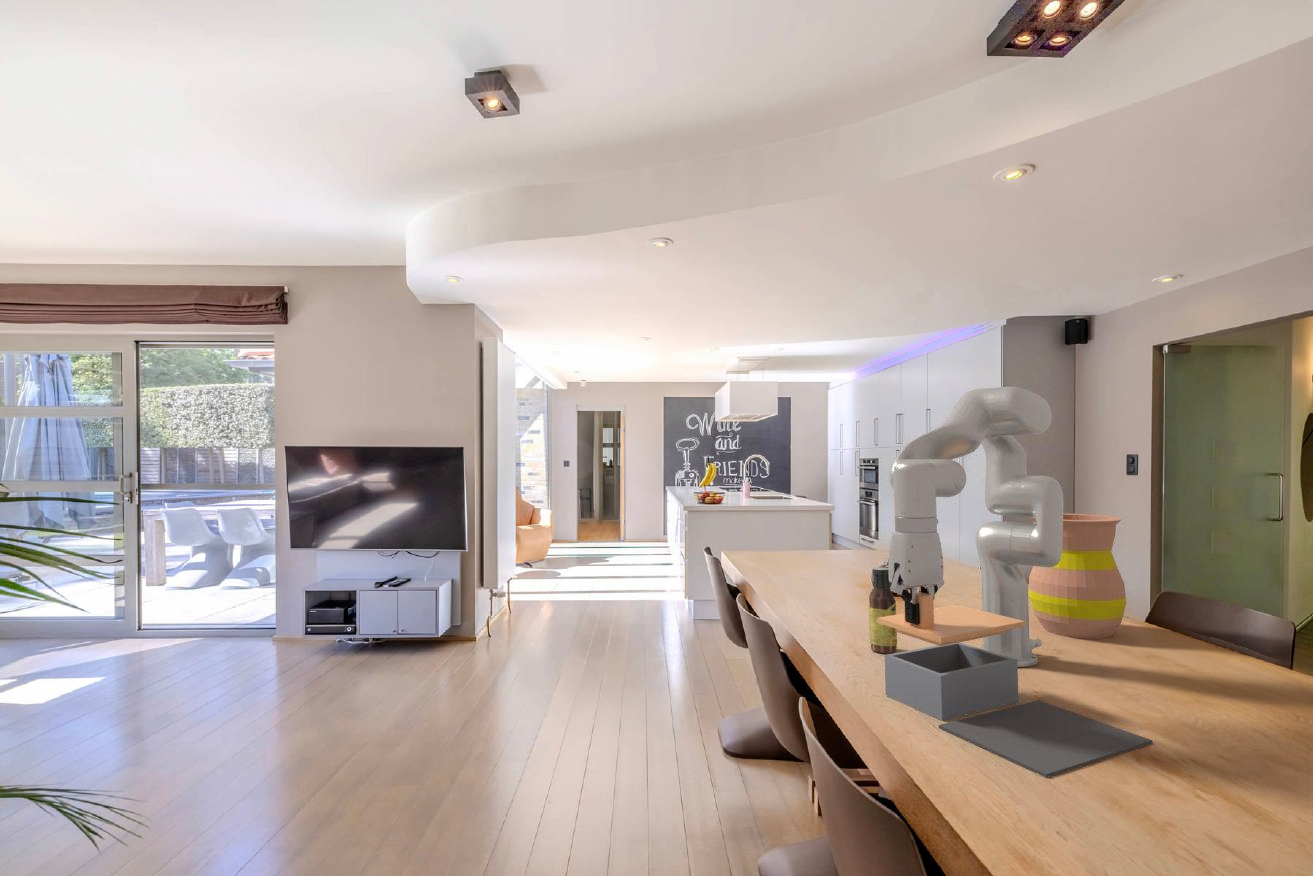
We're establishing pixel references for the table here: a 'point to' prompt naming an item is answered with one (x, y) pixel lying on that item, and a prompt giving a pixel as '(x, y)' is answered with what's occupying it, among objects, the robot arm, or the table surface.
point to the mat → (1045, 737)
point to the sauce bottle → (882, 613)
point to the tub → (951, 679)
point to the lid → (950, 623)
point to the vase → (1081, 581)
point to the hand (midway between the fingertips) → (918, 621)
